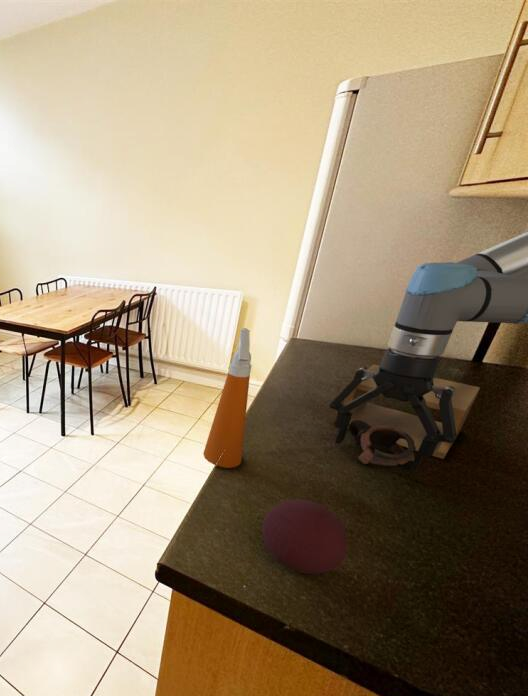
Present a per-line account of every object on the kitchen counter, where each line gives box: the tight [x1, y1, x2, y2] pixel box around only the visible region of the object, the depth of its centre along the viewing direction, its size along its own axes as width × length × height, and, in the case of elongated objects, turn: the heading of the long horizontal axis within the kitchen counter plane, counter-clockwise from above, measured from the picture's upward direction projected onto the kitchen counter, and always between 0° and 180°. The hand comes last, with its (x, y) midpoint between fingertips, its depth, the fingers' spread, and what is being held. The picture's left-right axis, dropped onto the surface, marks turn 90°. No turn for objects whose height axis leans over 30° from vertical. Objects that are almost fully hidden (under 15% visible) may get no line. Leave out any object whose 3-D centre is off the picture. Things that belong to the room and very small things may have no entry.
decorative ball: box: [261, 498, 349, 575], centre depth 58 cm, size 10×10×10 cm
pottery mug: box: [348, 420, 416, 467], centre depth 83 cm, size 12×10×8 cm
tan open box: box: [343, 364, 481, 460], centre depth 91 cm, size 18×16×11 cm
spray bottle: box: [202, 327, 252, 469], centre depth 81 cm, size 7×11×26 cm, turn 156°
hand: (375, 453), depth 83 cm, fingers closed on pottery mug, 11 cm apart
